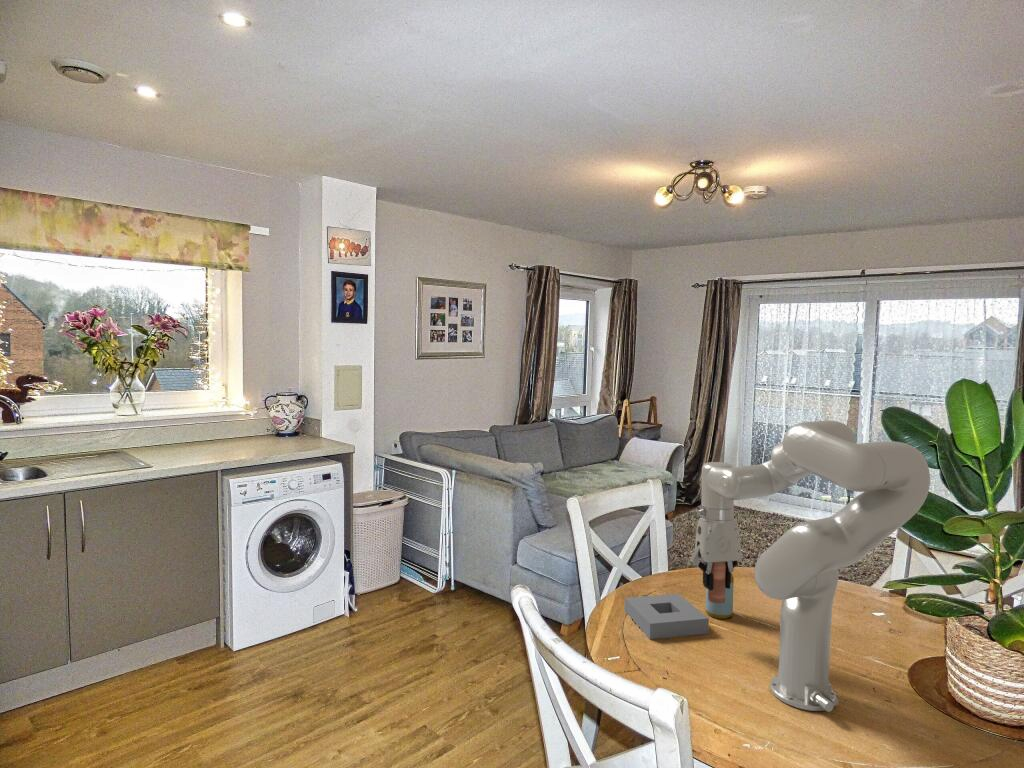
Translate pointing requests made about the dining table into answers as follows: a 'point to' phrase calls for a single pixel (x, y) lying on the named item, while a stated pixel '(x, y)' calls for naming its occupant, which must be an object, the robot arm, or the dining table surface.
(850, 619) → the dining table surface
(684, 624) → the socket block
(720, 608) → the bottle
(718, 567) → the peg
